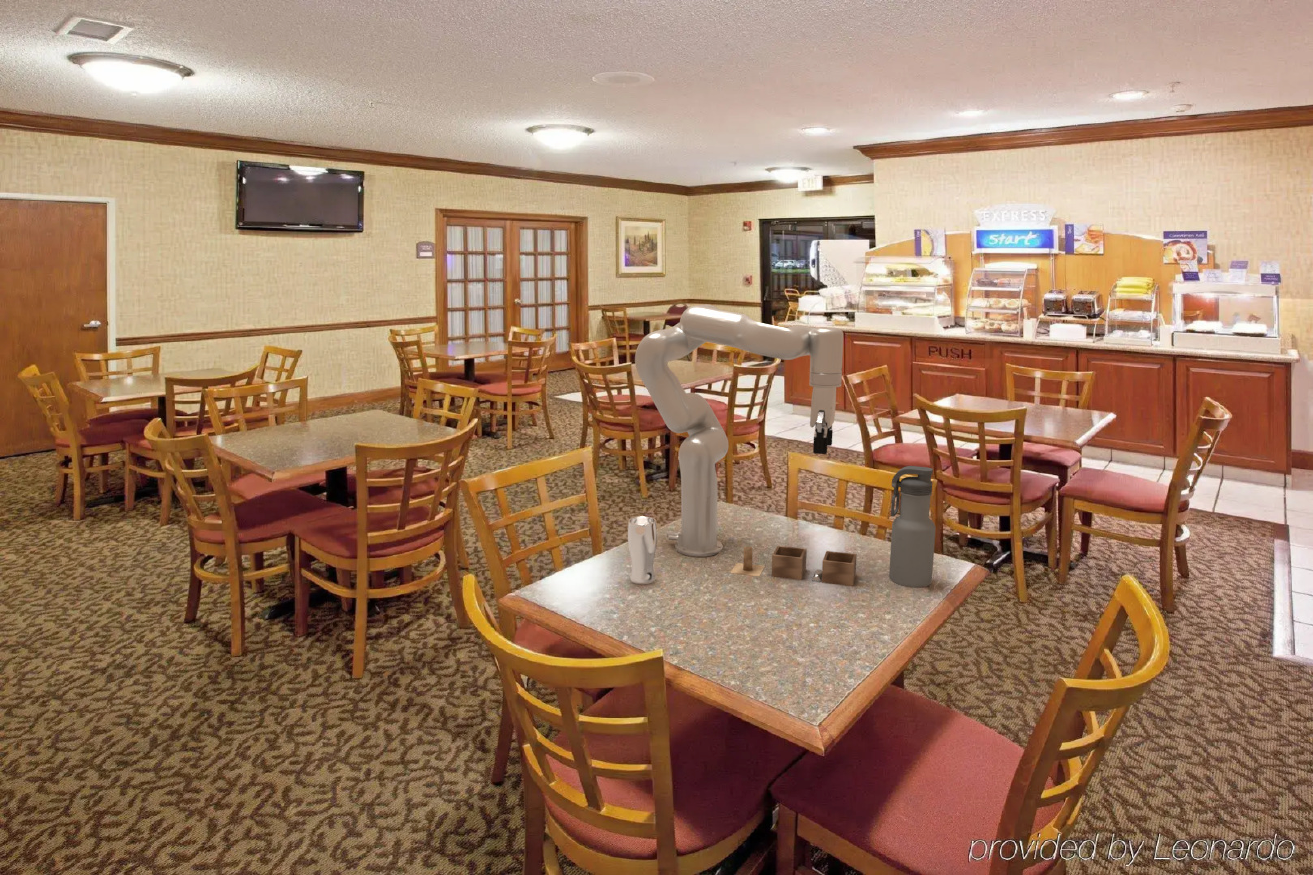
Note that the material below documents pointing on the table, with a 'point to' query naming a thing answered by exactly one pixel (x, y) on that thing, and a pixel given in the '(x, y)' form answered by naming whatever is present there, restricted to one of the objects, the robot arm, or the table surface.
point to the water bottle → (912, 529)
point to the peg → (817, 576)
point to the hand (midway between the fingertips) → (822, 449)
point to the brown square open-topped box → (839, 568)
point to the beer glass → (642, 548)
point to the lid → (747, 565)
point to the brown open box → (789, 562)
